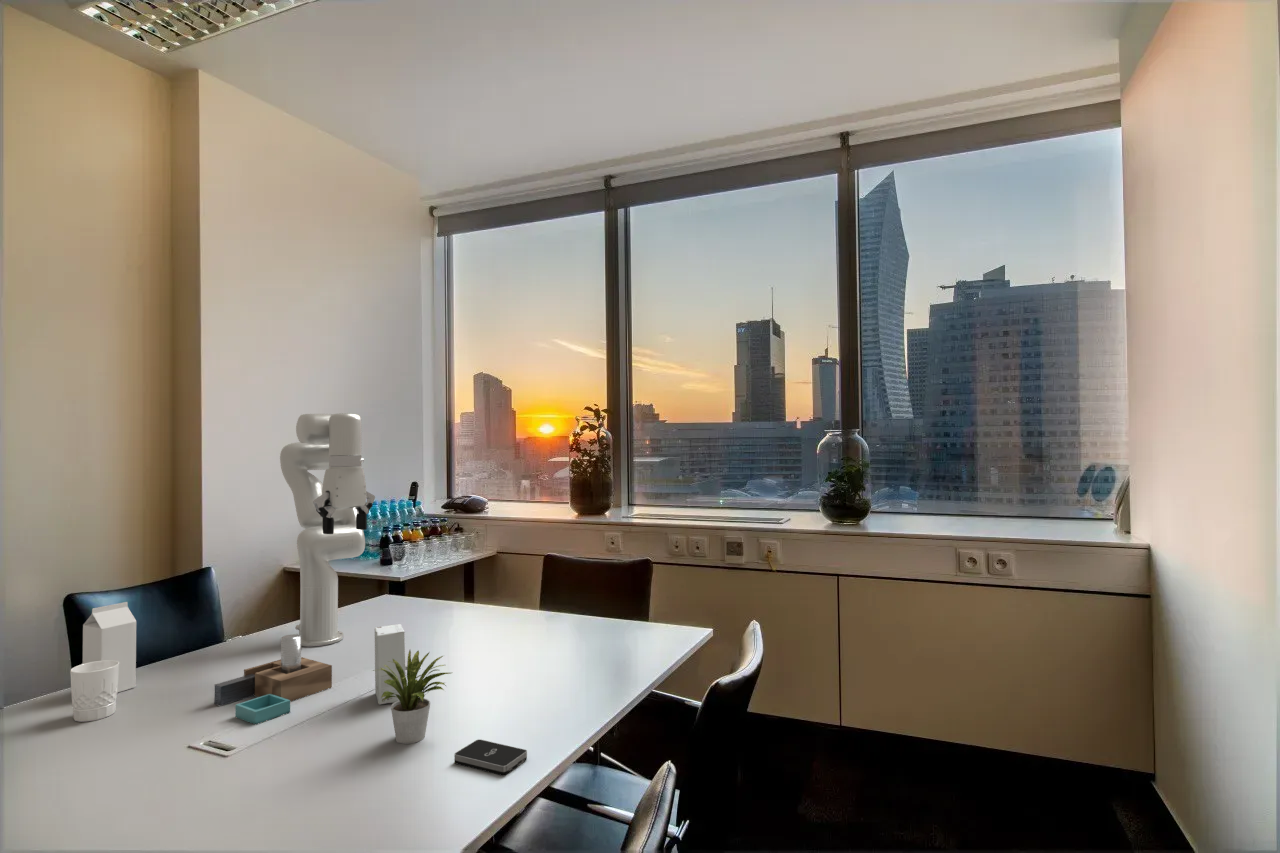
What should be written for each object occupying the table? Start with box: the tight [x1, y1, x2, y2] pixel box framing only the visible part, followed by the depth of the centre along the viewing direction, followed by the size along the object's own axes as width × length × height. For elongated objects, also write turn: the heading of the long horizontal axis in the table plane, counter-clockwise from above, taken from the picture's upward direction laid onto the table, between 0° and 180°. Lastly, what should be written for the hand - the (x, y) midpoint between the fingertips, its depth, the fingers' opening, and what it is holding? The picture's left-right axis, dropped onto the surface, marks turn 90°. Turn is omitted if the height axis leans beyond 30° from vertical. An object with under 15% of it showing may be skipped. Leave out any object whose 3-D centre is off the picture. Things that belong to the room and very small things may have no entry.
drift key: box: [213, 674, 255, 707], centre depth 151 cm, size 2×8×4 cm, turn 149°
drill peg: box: [280, 633, 302, 674], centre depth 156 cm, size 4×4×12 cm
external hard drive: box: [453, 738, 528, 776], centre depth 122 cm, size 7×11×2 cm, turn 65°
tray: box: [234, 694, 291, 725], centre depth 143 cm, size 7×7×2 cm
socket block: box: [243, 656, 333, 702], centre depth 157 cm, size 14×12×5 cm
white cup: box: [70, 660, 119, 723], centre depth 143 cm, size 8×8×10 cm
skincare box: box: [374, 623, 407, 705], centre depth 153 cm, size 8×6×15 cm
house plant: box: [372, 649, 452, 745], centre depth 131 cm, size 14×14×16 cm
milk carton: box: [82, 601, 137, 693], centre depth 157 cm, size 7×7×19 cm
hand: (345, 531), depth 175 cm, fingers open, 9 cm apart
